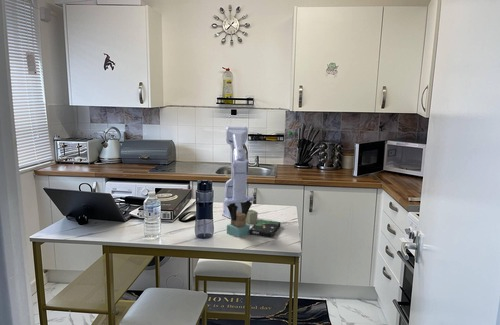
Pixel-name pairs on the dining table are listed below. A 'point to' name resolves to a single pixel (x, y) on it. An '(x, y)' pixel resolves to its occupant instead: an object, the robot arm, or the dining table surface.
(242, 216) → the walnut block
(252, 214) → the olive block
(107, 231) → the dining table surface
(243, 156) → the robot arm
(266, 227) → the disk drive
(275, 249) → the dining table surface
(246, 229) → the teal block
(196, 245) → the dining table surface
